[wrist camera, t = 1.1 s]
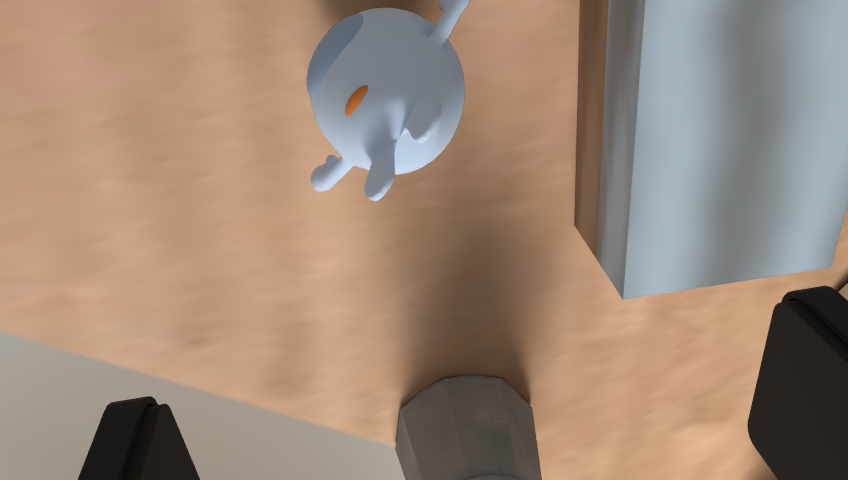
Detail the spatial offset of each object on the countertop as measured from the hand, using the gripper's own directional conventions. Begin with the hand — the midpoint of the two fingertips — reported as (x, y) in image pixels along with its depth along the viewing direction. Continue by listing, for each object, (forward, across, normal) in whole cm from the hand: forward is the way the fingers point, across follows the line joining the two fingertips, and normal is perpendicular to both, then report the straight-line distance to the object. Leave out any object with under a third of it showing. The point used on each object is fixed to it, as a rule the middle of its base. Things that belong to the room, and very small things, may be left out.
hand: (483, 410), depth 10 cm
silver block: (+23, -14, +4) cm, 27 cm away
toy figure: (+23, 0, +1) cm, 23 cm away
